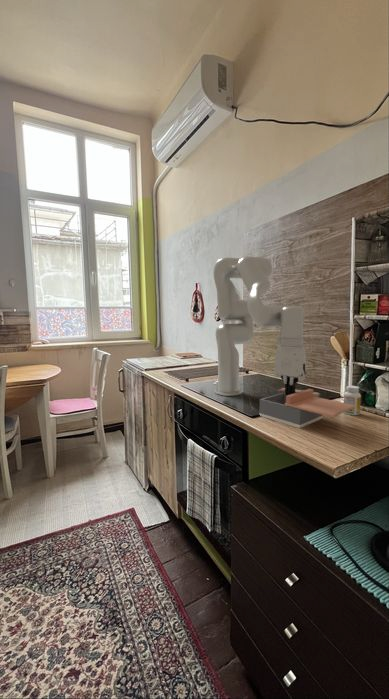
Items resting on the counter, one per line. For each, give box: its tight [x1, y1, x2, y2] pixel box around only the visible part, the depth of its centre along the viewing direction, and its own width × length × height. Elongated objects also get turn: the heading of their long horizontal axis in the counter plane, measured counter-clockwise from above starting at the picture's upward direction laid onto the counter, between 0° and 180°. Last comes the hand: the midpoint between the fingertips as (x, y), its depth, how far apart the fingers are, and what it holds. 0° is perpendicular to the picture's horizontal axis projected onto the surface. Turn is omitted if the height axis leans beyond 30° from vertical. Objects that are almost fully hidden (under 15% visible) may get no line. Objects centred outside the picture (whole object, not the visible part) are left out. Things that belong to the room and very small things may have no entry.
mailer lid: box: [285, 388, 355, 418], centre depth 99 cm, size 16×15×3 cm
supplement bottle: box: [343, 385, 362, 416], centre depth 111 cm, size 5×5×10 cm
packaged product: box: [277, 387, 321, 398], centre depth 128 cm, size 18×5×10 cm
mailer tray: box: [258, 393, 324, 429], centre depth 108 cm, size 16×14×6 cm
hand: (289, 395), depth 108 cm, fingers closed
